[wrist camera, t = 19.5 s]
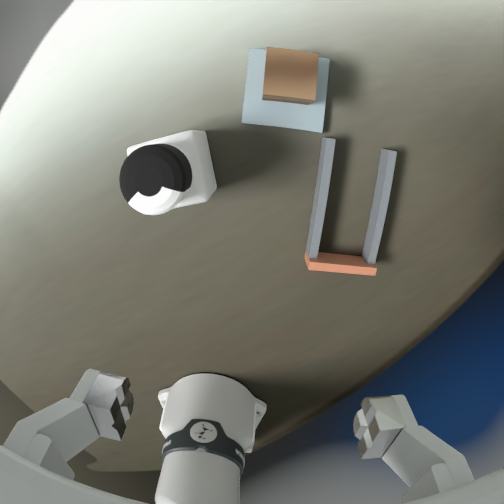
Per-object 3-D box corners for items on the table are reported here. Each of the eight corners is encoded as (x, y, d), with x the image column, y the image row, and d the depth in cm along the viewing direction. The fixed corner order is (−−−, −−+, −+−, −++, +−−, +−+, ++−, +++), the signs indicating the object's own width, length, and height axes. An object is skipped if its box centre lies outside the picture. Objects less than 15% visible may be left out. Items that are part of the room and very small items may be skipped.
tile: (320, 132, 33) (322, 132, 32) (242, 123, 33) (241, 123, 32) (327, 60, 30) (329, 59, 29) (249, 50, 30) (249, 48, 29)
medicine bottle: (148, 144, 34) (102, 151, 23) (205, 130, 33) (180, 128, 22) (161, 200, 37) (122, 230, 25) (218, 189, 36) (199, 214, 25)
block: (307, 105, 31) (315, 100, 27) (262, 100, 31) (262, 94, 26) (310, 64, 29) (318, 53, 25) (265, 58, 29) (266, 46, 25)
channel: (366, 264, 39) (375, 275, 36) (304, 258, 39) (308, 269, 36) (388, 150, 34) (400, 152, 30) (322, 137, 33) (328, 137, 30)
